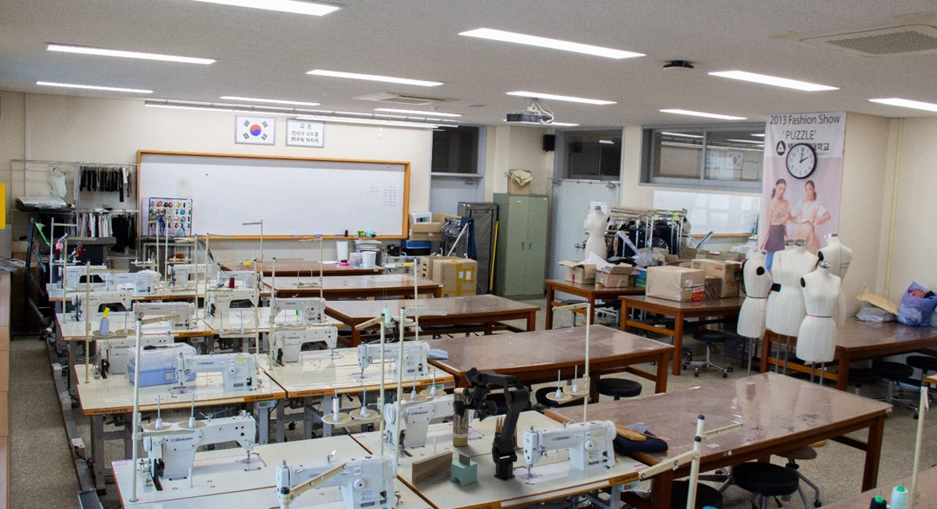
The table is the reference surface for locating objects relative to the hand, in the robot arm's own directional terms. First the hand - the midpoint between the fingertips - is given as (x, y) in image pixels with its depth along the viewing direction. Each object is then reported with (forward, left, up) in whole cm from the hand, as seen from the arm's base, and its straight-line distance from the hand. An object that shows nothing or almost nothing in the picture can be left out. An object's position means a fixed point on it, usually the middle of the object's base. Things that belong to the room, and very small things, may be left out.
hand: (469, 421), depth 344 cm
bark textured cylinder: (+10, -4, -14) cm, 18 cm away
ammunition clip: (-3, -20, -14) cm, 25 cm away
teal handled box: (-20, +23, -14) cm, 34 cm away
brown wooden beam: (-11, +30, -14) cm, 35 cm away
